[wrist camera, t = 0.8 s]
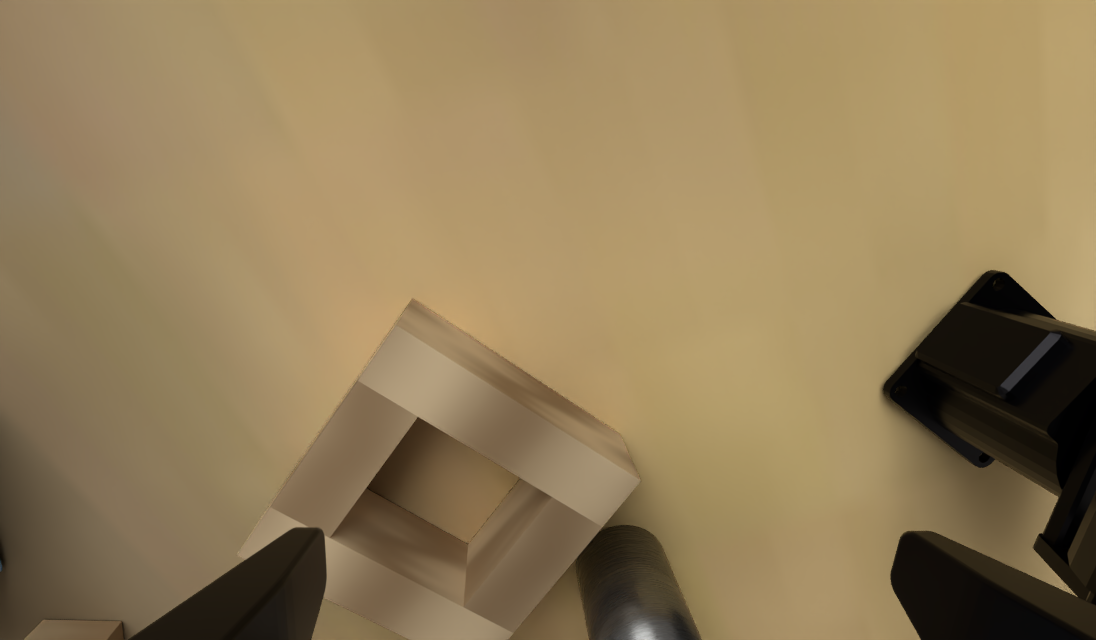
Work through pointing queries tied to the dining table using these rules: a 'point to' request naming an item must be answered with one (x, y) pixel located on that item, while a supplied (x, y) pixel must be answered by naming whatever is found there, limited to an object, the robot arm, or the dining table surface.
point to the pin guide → (77, 630)
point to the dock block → (421, 548)
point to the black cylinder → (631, 589)
